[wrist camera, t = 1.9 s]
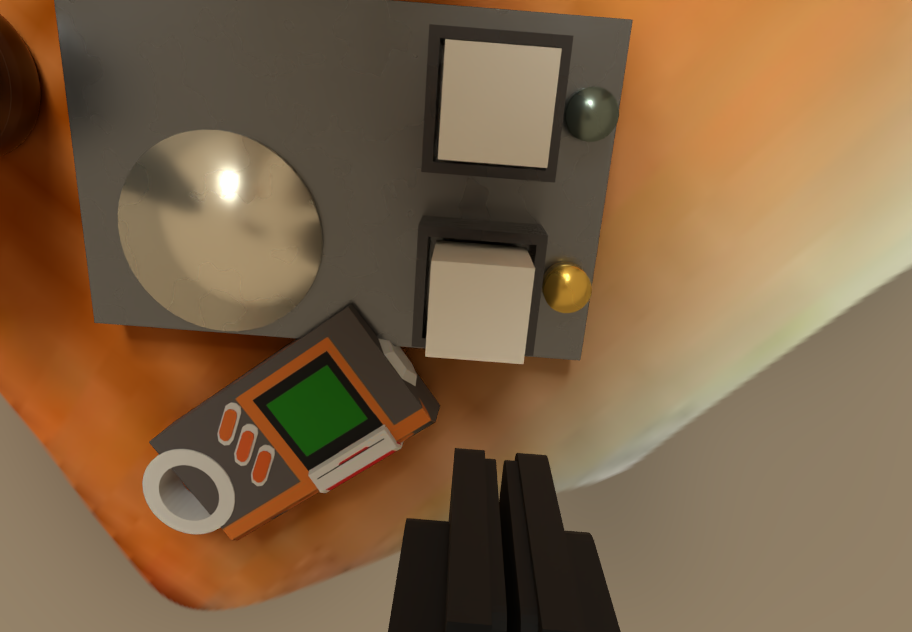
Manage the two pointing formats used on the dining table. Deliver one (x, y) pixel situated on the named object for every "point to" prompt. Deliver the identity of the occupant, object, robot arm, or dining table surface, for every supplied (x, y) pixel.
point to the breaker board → (320, 162)
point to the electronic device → (287, 430)
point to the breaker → (498, 103)
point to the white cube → (479, 302)
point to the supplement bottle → (16, 89)
